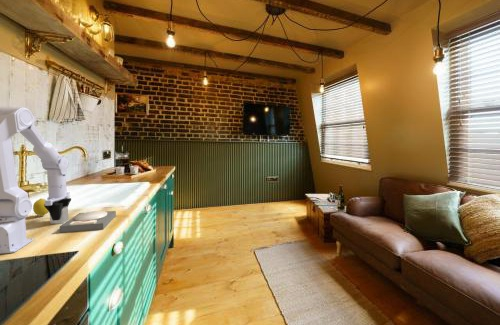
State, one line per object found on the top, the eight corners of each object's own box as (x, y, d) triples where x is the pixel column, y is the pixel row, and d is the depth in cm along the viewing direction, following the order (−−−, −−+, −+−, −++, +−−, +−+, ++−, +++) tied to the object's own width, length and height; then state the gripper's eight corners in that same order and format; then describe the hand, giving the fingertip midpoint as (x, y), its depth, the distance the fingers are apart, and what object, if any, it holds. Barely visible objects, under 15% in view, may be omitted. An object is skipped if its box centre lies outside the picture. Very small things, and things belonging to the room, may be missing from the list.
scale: (103, 229, 87) (103, 221, 87) (60, 232, 84) (59, 224, 83) (116, 216, 103) (115, 209, 103) (79, 218, 99) (79, 211, 99)
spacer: (63, 223, 93) (62, 208, 93) (50, 224, 92) (49, 209, 91) (68, 219, 97) (67, 205, 97) (56, 220, 96) (55, 206, 96)
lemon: (40, 218, 98) (39, 200, 97) (30, 217, 99) (28, 199, 98) (53, 214, 104) (52, 197, 103) (44, 213, 105) (42, 196, 104)
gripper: (59, 188, 87) (61, 223, 89) (76, 182, 101) (78, 212, 103) (37, 189, 86) (39, 224, 87) (58, 182, 99) (60, 213, 101)
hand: (59, 218), depth 95 cm, fingers closed on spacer, 4 cm apart
